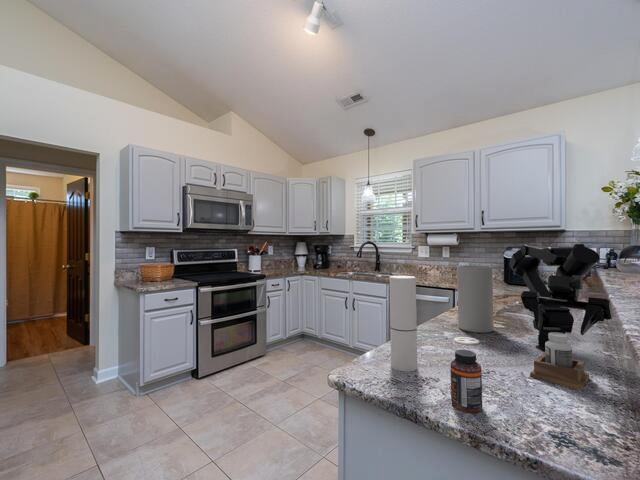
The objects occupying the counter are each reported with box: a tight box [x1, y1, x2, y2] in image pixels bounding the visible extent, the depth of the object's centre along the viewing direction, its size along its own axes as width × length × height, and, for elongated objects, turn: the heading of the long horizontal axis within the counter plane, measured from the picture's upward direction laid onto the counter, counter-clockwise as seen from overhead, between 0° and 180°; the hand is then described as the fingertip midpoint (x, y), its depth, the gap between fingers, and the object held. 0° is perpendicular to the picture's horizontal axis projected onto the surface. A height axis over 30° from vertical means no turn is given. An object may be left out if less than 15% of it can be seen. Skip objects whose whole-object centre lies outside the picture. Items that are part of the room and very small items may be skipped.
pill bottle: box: [544, 332, 573, 369], centre depth 77 cm, size 5×5×10 cm
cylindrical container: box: [388, 275, 418, 372], centre depth 85 cm, size 7×7×25 cm
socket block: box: [529, 352, 590, 391], centre depth 77 cm, size 10×10×4 cm
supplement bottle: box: [450, 349, 483, 414], centre depth 64 cm, size 6×6×11 cm
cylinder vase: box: [456, 264, 495, 334], centre depth 121 cm, size 12×12×25 cm
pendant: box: [453, 336, 486, 346], centre depth 106 cm, size 7×11×1 cm, turn 94°
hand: (558, 330), depth 78 cm, fingers open, 9 cm apart
